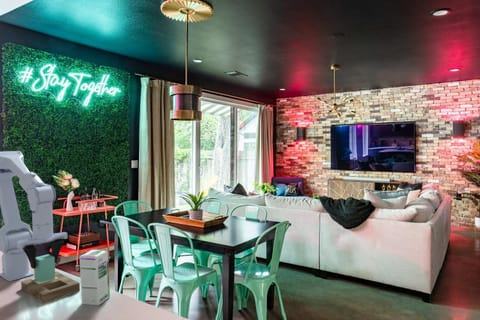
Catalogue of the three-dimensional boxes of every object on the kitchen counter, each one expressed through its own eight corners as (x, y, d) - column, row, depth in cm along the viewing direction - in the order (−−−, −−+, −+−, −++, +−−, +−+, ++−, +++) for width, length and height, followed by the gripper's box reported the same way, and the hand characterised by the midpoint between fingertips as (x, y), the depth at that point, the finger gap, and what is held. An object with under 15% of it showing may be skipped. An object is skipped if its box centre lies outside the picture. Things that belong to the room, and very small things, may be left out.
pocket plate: (21, 288, 114) (21, 280, 114) (56, 278, 122) (56, 270, 122) (42, 303, 104) (42, 294, 103) (79, 290, 112) (79, 282, 112)
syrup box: (99, 306, 102) (97, 256, 101) (80, 304, 103) (79, 254, 102) (110, 297, 107) (108, 250, 107) (92, 295, 109) (91, 248, 108)
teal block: (34, 279, 115) (33, 257, 114) (49, 274, 118) (48, 254, 118) (40, 282, 112) (39, 260, 112) (55, 278, 116) (54, 256, 115)
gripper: (22, 229, 106) (24, 274, 107) (71, 221, 117) (72, 261, 118) (13, 226, 111) (15, 269, 111) (61, 218, 122) (62, 257, 123)
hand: (44, 265), depth 115 cm, fingers open, 6 cm apart
